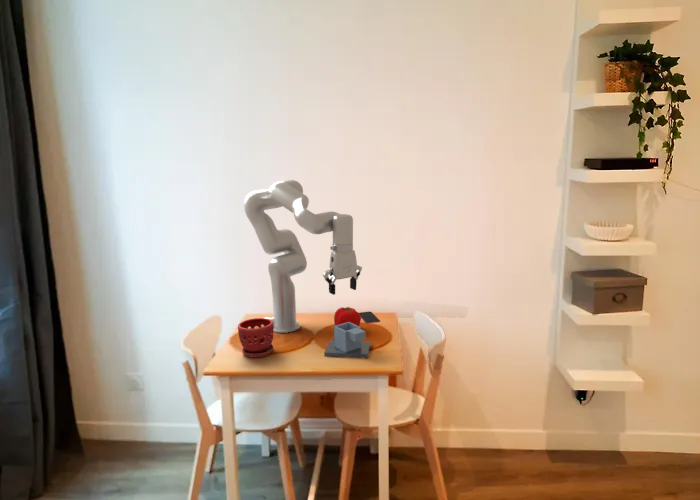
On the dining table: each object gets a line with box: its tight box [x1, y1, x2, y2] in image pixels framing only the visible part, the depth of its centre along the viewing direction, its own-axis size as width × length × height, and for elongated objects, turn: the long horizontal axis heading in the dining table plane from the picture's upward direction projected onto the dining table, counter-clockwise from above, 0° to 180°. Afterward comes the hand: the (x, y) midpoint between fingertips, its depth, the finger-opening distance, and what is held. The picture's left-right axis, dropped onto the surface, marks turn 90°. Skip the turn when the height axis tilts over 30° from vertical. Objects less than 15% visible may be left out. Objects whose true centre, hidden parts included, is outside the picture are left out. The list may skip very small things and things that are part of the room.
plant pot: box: [237, 317, 275, 358], centre depth 192 cm, size 13×13×12 cm
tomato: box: [333, 306, 362, 327], centre depth 212 cm, size 11×13×10 cm
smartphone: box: [358, 311, 381, 324], centre depth 229 cm, size 7×1×14 cm
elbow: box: [333, 322, 367, 352], centre depth 191 cm, size 7×12×8 cm, turn 37°
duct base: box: [323, 339, 372, 359], centre depth 193 cm, size 16×12×6 cm
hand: (342, 291), depth 195 cm, fingers open, 9 cm apart
